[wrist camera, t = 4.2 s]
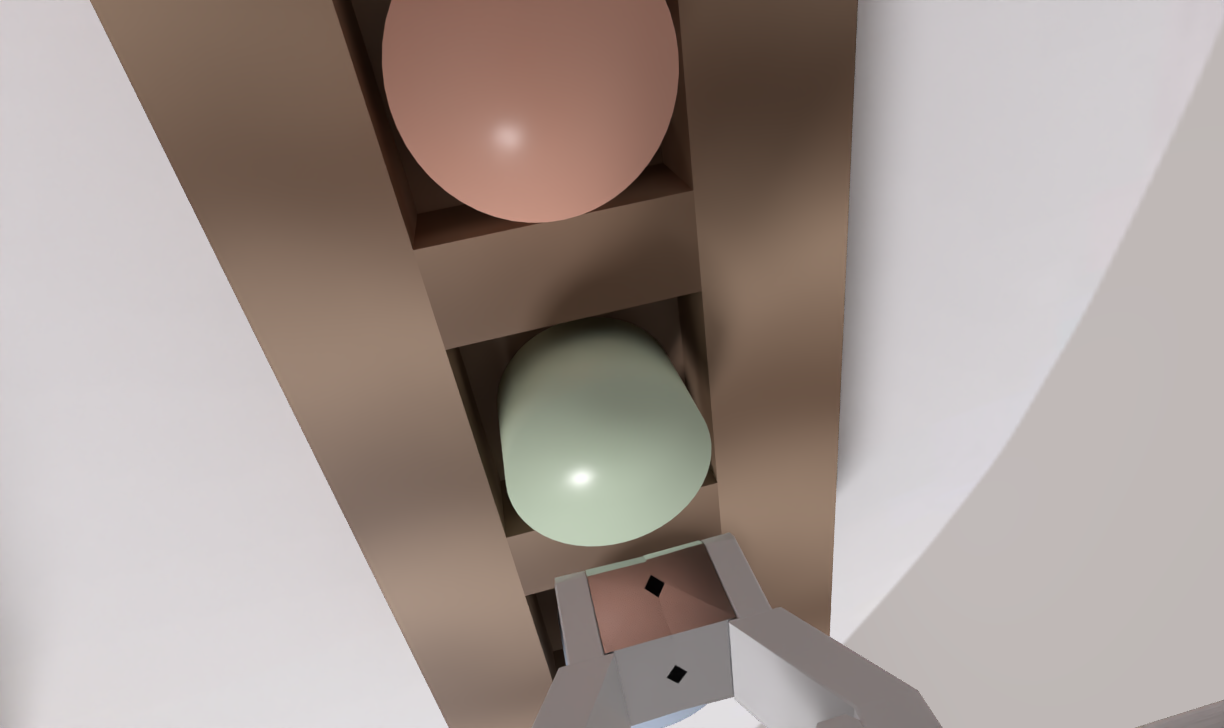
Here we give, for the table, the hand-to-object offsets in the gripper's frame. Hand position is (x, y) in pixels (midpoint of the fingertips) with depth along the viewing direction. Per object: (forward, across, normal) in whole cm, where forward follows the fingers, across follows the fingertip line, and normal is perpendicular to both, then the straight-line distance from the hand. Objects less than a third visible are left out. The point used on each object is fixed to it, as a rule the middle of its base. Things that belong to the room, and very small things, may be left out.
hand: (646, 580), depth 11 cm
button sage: (+5, 0, -1) cm, 5 cm away
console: (+8, 0, -1) cm, 8 cm away
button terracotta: (+5, 0, -8) cm, 9 cm away
